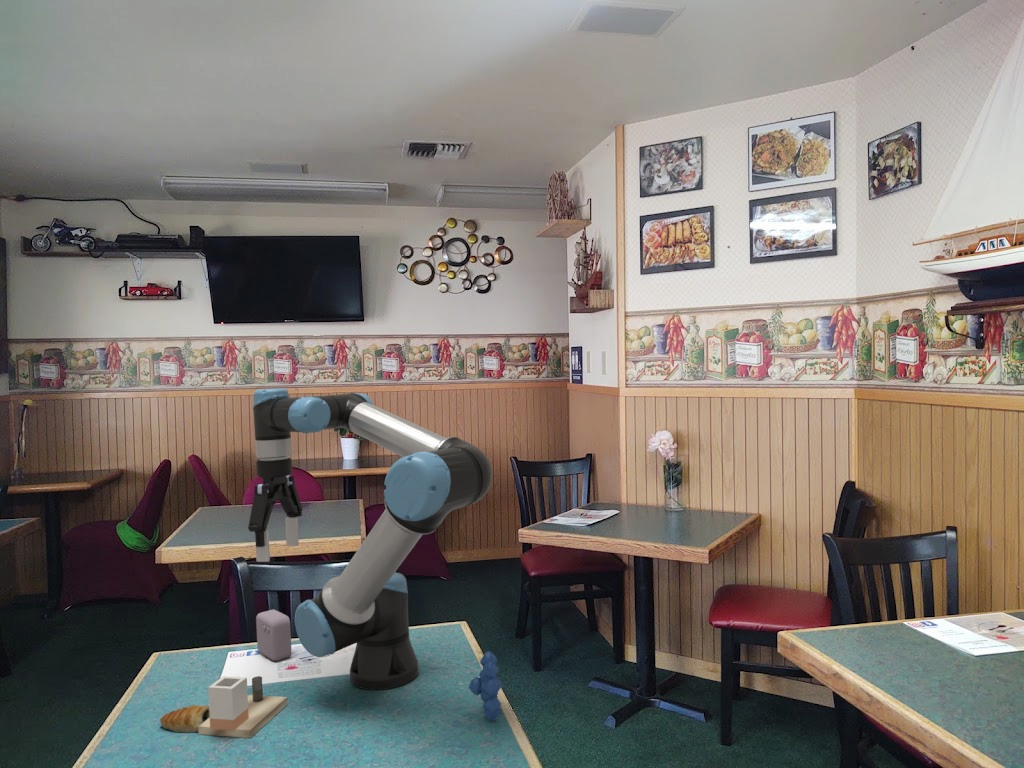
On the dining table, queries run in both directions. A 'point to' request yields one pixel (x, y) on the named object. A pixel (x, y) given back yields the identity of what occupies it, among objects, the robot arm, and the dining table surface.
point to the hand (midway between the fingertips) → (278, 553)
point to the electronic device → (273, 635)
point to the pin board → (251, 713)
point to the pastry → (186, 718)
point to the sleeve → (228, 703)
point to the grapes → (488, 686)
